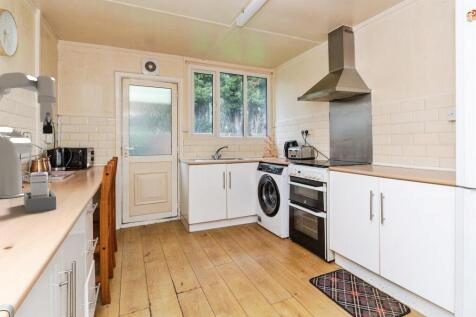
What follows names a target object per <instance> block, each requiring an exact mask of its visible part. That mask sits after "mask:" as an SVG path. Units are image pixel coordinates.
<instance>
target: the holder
mask: <svg viewBox="0 0 476 317" xmlns="http://www.w3.org/2000/svg"><path fill="white" fill-rule="evenodd" d="M48 191H49V197H43V198H34V199H31V191H27V192H26V193H24V196H23V207H24V210H25V214H29V213H37V212H44V211H45V212H46V211H52V210H57V196H56V195H55V193H54V192H53V191H52V190H49V189H48Z"/></svg>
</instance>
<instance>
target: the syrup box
mask: <svg viewBox="0 0 476 317" xmlns="http://www.w3.org/2000/svg"><path fill="white" fill-rule="evenodd" d="M48 175H49V174H48V172H47V171H37V172H30V175H29V177H30V179H29V180H30V192H31V199H34V198H43V197H49V191H48V190H49V176H48Z"/></svg>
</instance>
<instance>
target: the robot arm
mask: <svg viewBox="0 0 476 317" xmlns="http://www.w3.org/2000/svg"><path fill="white" fill-rule="evenodd" d="M12 89H22V90H23V89H24V90H26V91H30V92H34V93H36V94H37V104H39V122H40V123H42V134H43V135H51V134H53V133H54V131H53V126H54V125H53V122H54V106H55V105H56V104H57V102H56V99H57V98H56V97H57V95H56V79H55V78H54V77H52V76H49V75H48V76H47V75H38V76H33V75H31V74H27V73H25V72H20V71H19V72H16V71H15V72H5V73H2V74H0V101H1V100H2V99H3V96H5V95H9V94H10V93H11V90H12ZM33 147H34V144H33V142H32V141H31V139H30V138H29V137H28V136H26V135H24V134H23V133H21V132H19V131H18V130H17V129H15V128H13V127H11V126H9V125H3V124H0V199H12V198H19V197H24V193H26V192H25V191H23V176H22V174H23V172H22V161H21V157H20V156H19V155H24V154H28V153H29V152H31V151H32V150H33Z"/></svg>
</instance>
